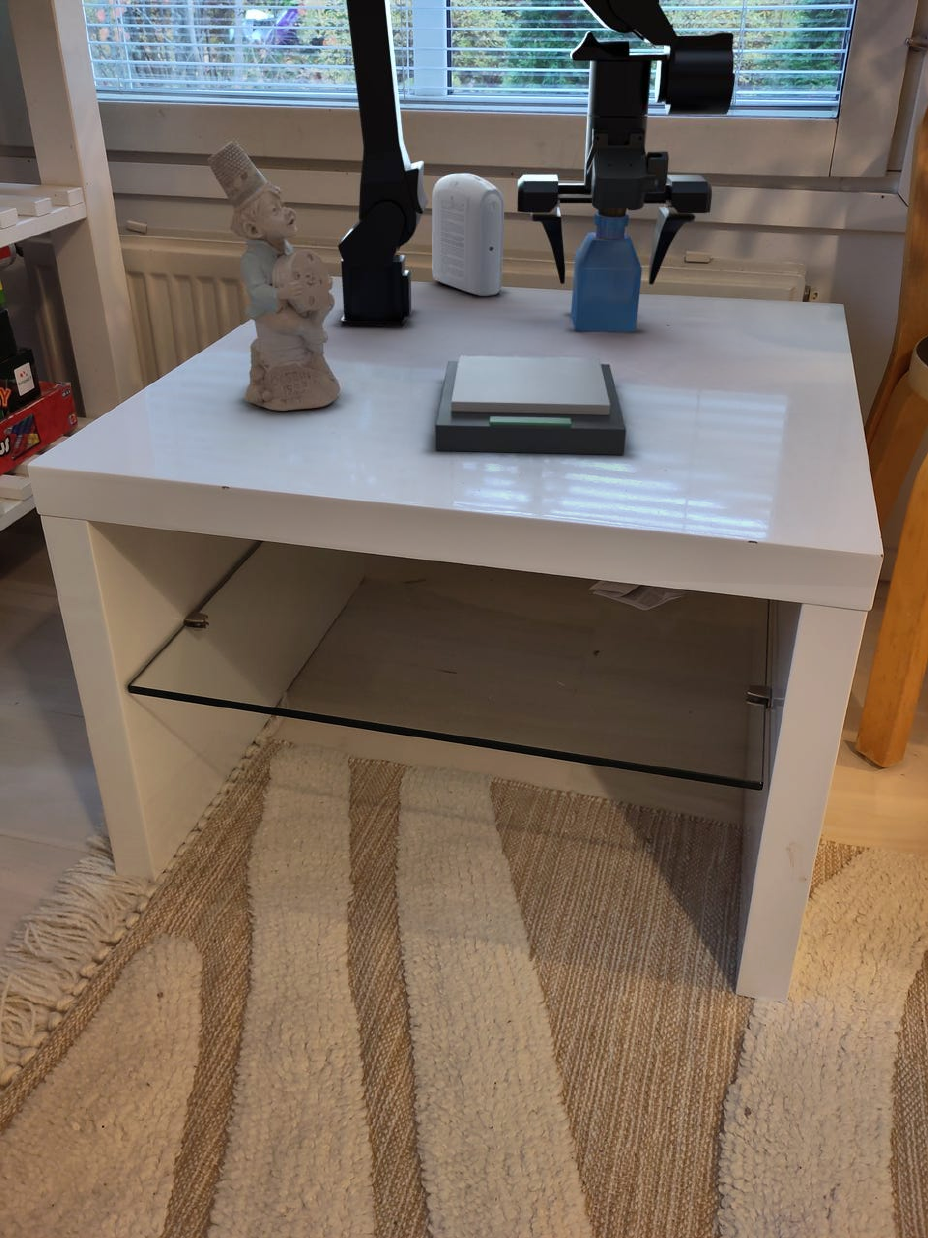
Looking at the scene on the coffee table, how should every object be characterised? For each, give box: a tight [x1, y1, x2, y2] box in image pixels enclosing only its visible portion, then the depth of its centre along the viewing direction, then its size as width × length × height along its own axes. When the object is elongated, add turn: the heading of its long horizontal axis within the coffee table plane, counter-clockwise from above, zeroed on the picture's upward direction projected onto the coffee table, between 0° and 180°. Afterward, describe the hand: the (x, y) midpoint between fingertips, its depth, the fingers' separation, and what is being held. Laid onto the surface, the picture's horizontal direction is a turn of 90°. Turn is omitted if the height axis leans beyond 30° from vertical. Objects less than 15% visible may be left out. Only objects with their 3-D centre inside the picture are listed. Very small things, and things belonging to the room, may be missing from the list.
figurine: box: [207, 138, 341, 412], centre depth 80 cm, size 9×8×20 cm
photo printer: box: [431, 173, 505, 297], centre depth 117 cm, size 10×4×12 cm, turn 36°
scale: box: [434, 354, 627, 456], centre depth 81 cm, size 14×16×3 cm
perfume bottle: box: [570, 208, 643, 333], centre depth 104 cm, size 6×6×12 cm
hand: (606, 283), depth 105 cm, fingers open, 9 cm apart
